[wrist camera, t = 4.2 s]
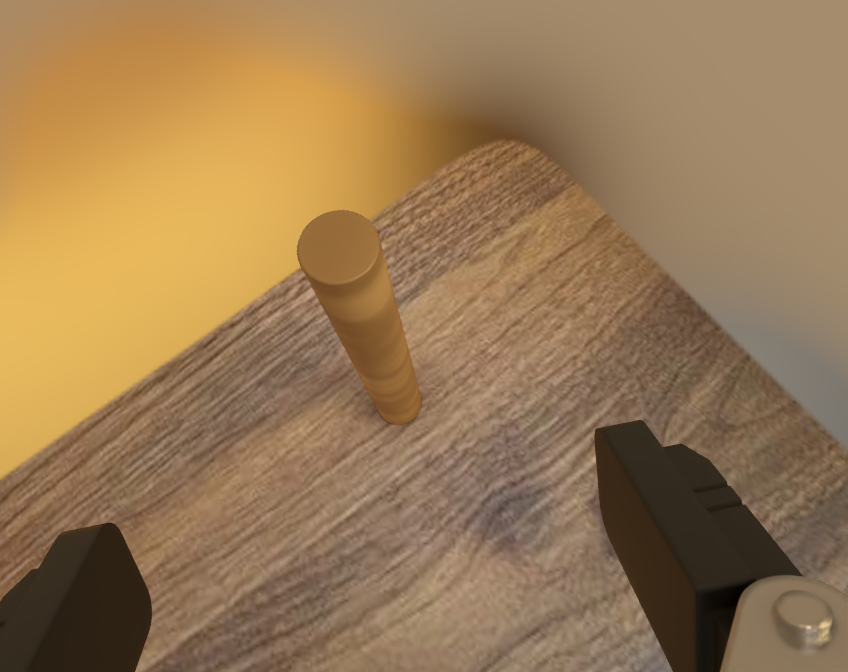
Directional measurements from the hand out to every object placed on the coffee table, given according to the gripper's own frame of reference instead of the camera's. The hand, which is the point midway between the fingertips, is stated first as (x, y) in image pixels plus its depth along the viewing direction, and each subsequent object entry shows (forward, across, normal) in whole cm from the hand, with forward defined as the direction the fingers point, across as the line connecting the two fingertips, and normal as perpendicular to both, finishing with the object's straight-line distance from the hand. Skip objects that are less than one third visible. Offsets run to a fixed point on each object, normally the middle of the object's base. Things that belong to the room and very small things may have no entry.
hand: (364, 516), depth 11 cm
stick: (+17, 0, +8) cm, 19 cm away
